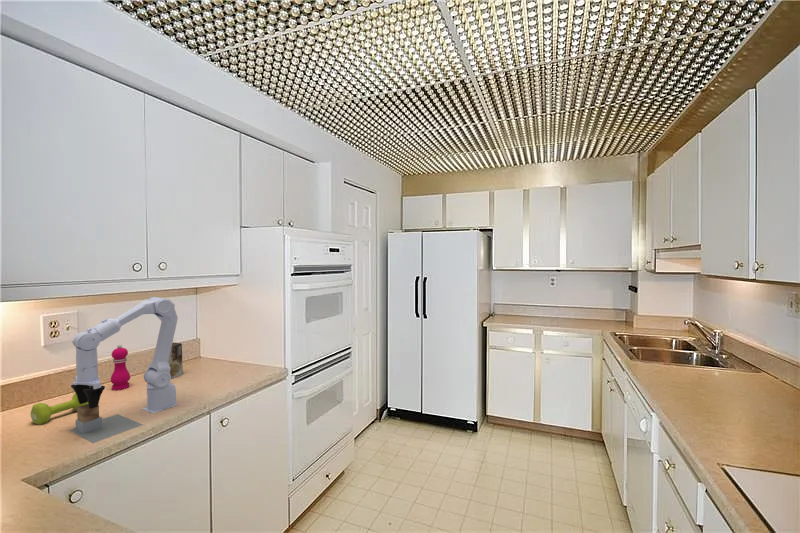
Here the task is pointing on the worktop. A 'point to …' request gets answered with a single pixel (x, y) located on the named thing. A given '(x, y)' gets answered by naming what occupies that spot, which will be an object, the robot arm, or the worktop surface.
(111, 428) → the mat
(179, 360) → the coffee box
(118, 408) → the worktop surface
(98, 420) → the base block
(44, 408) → the dumbbell
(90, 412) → the walnut block
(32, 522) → the worktop surface
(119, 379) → the pepper mill
